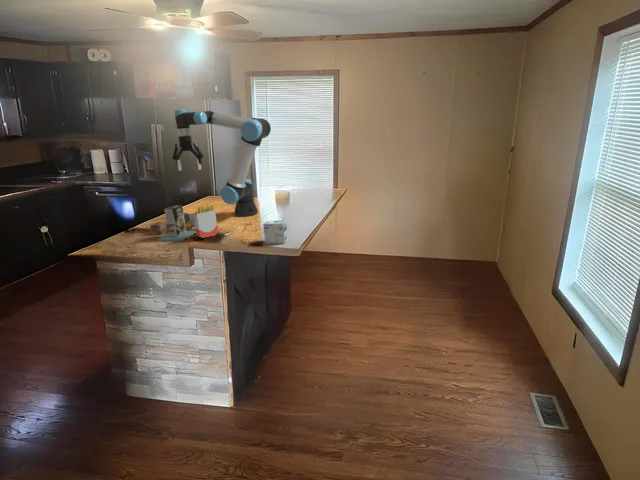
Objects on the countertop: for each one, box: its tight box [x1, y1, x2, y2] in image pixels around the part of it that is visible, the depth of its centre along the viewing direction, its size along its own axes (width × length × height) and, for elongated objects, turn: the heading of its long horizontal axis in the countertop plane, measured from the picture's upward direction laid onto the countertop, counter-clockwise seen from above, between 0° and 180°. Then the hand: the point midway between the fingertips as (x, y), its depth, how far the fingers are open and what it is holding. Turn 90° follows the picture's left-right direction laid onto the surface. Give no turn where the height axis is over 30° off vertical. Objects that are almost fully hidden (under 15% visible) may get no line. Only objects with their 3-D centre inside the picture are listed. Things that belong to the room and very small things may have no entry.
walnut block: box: [149, 221, 168, 236], centre depth 255 cm, size 6×6×6 cm
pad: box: [157, 230, 196, 242], centre depth 245 cm, size 16×16×1 cm
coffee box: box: [163, 204, 187, 237], centre depth 243 cm, size 9×6×16 cm
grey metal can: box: [188, 212, 195, 228], centre depth 263 cm, size 6×6×8 cm
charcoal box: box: [183, 212, 190, 223], centre depth 278 cm, size 6×8×5 cm
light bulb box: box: [262, 219, 289, 245], centre depth 222 cm, size 11×7×11 cm, turn 81°
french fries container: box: [194, 204, 219, 239], centre depth 237 cm, size 5×11×18 cm, turn 133°
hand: (189, 170), depth 275 cm, fingers open, 13 cm apart
